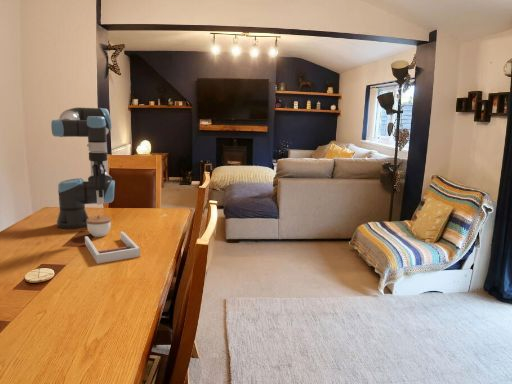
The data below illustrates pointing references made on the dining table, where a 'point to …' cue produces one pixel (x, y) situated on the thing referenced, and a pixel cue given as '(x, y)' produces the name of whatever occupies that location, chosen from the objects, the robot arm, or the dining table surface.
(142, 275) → the dining table surface
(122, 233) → the channel
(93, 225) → the lidded jar
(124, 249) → the tray
